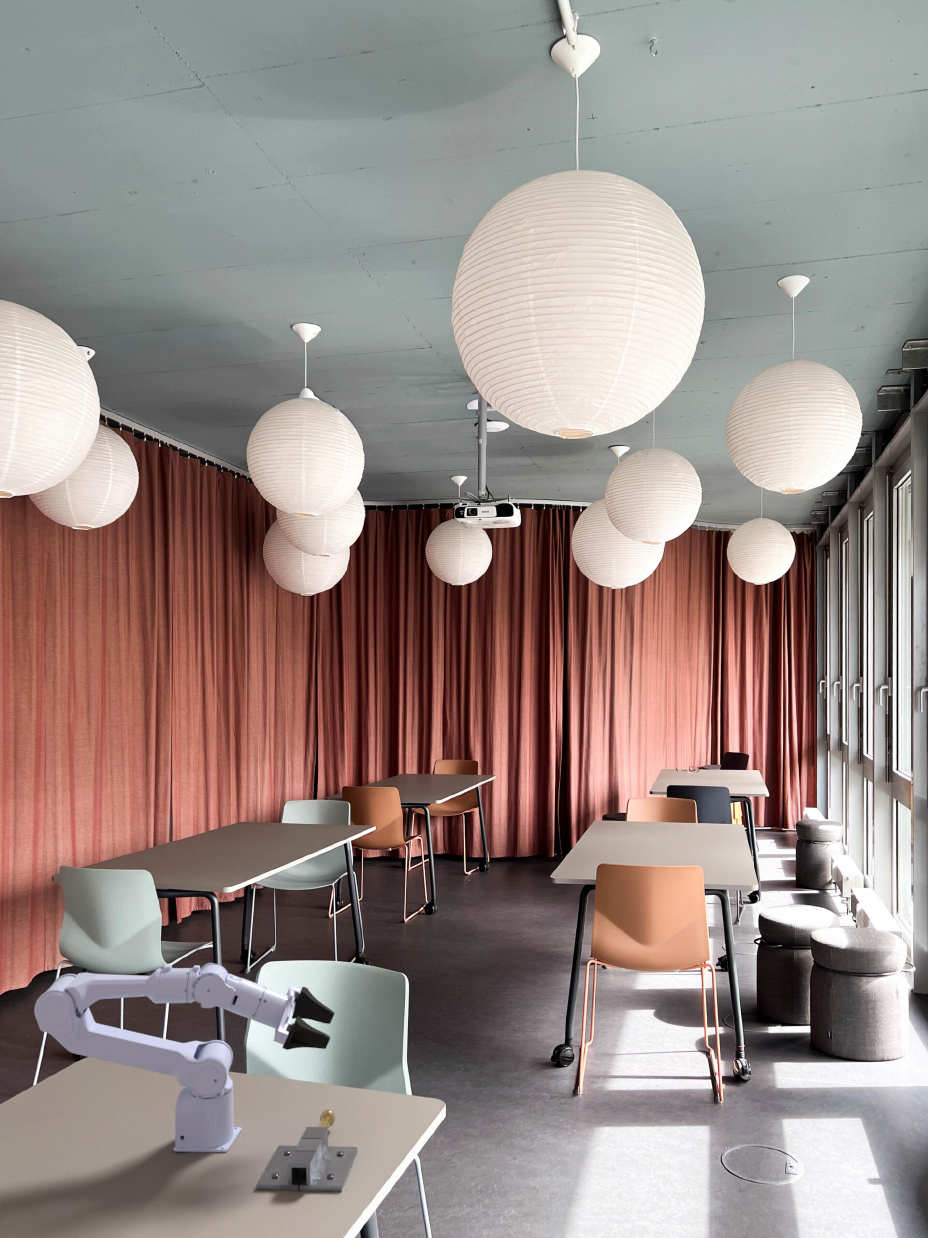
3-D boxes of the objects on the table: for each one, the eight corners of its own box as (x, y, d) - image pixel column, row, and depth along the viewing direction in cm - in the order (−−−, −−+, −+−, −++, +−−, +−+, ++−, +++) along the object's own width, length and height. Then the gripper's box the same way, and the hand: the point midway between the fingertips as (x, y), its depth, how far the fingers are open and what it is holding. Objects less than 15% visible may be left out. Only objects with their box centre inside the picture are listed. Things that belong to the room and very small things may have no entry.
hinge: (256, 1189, 145) (256, 1163, 145) (278, 1150, 156) (278, 1126, 157) (341, 1191, 143) (341, 1165, 144) (357, 1152, 155) (356, 1127, 156)
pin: (300, 1165, 150) (300, 1149, 150) (321, 1125, 164) (320, 1109, 164) (316, 1166, 150) (316, 1149, 150) (335, 1125, 163) (335, 1110, 164)
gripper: (260, 1006, 155) (334, 1035, 157) (274, 963, 170) (342, 989, 171) (244, 1042, 156) (318, 1070, 157) (259, 996, 171) (327, 1022, 172)
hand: (330, 1030), depth 164 cm, fingers open, 7 cm apart
